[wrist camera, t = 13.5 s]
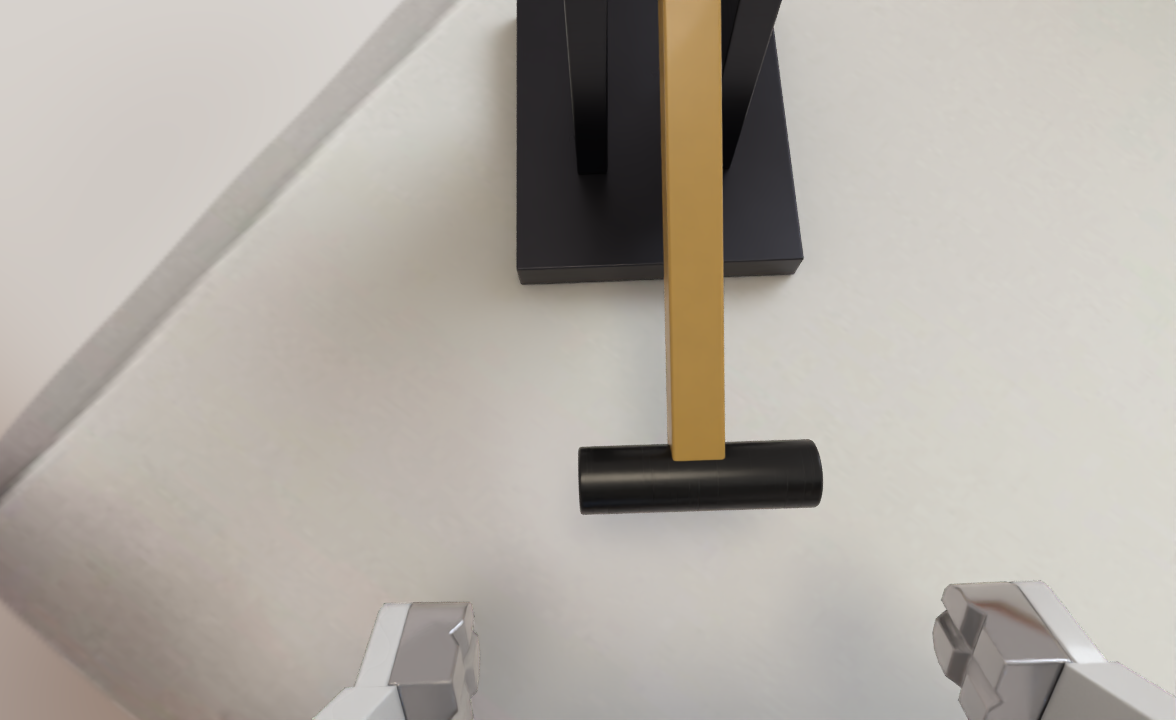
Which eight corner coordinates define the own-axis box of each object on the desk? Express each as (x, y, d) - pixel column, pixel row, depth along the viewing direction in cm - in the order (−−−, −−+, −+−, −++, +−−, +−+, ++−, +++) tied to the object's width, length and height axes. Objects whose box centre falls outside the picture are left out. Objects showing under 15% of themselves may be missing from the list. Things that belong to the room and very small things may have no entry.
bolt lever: (796, 486, 16) (831, 526, 14) (582, 493, 16) (579, 534, 14) (801, -294, 14) (845, -410, 11) (550, -281, 14) (541, -392, 11)
